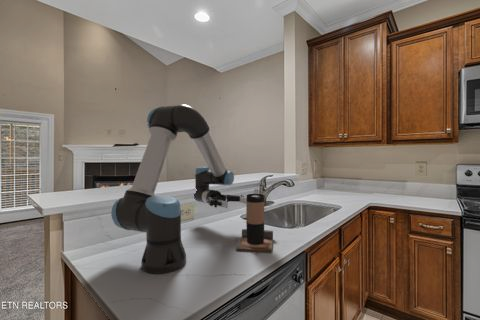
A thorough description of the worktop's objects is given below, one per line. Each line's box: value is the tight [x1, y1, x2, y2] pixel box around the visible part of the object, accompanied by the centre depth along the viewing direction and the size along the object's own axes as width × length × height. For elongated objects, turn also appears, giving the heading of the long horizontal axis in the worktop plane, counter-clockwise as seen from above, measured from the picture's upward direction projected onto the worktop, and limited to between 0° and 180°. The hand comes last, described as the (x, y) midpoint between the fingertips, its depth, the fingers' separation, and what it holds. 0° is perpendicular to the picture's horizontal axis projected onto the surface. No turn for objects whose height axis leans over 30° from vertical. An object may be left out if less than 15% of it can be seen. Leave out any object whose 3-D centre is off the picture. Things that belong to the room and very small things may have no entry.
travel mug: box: [245, 193, 265, 245], centre depth 101 cm, size 8×8×20 cm
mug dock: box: [235, 228, 274, 254], centre depth 101 cm, size 15×14×4 cm
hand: (238, 203), depth 109 cm, fingers open, 13 cm apart
